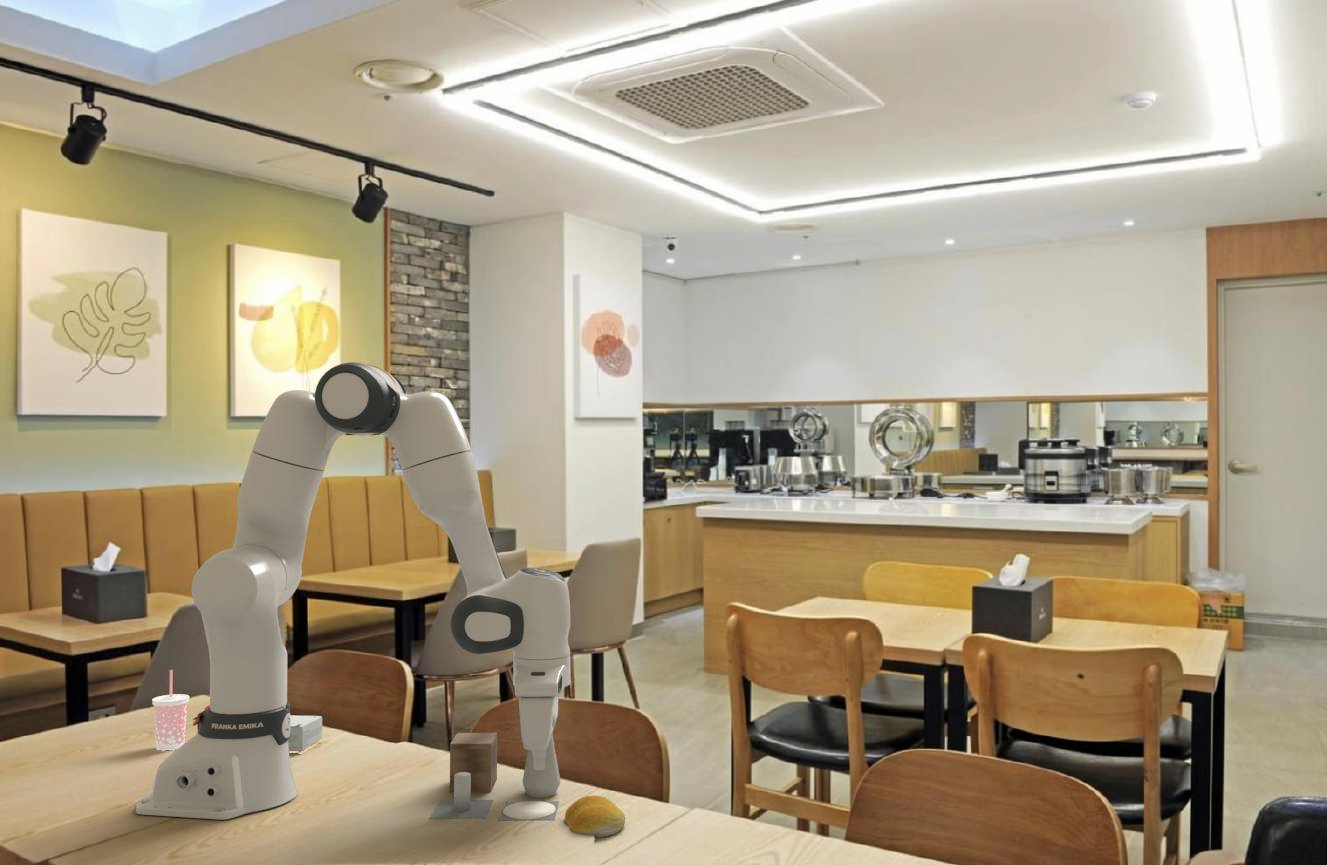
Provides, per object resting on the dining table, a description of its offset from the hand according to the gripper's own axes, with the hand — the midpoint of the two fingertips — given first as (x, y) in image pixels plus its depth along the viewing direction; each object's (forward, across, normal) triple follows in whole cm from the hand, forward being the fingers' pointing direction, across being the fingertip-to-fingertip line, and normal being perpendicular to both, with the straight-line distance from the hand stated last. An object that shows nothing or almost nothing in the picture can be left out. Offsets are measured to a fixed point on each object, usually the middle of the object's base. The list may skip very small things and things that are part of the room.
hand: (541, 763), depth 157 cm
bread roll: (+6, +13, +9) cm, 17 cm away
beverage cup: (+5, -29, -70) cm, 76 cm away
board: (+5, +7, -11) cm, 14 cm away
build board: (+5, +8, -1) cm, 10 cm away
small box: (+6, -28, -48) cm, 56 cm away
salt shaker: (+5, 0, 0) cm, 5 cm away
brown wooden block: (+5, -4, -11) cm, 13 cm away
